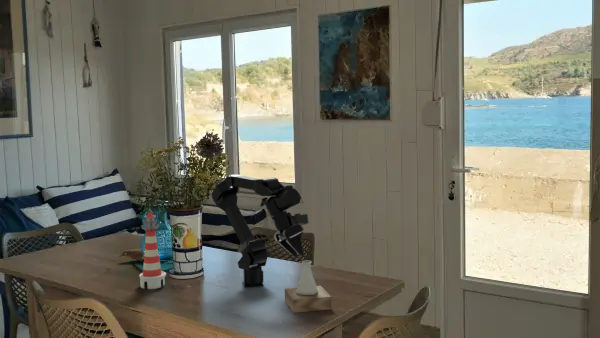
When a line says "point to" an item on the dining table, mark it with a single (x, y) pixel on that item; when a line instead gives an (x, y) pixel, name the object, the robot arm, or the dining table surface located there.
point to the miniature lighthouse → (151, 257)
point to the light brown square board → (307, 300)
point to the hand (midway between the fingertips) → (299, 256)
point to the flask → (306, 280)
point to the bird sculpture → (133, 254)
